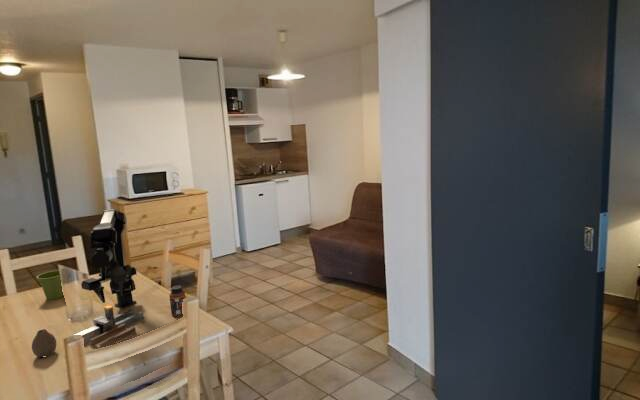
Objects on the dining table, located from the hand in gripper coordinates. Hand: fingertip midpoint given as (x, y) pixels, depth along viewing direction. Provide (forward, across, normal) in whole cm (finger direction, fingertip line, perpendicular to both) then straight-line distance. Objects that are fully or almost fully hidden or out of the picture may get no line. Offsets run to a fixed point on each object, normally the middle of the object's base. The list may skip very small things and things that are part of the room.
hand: (113, 299), depth 156 cm
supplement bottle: (+11, +18, -14) cm, 25 cm away
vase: (+11, -24, +3) cm, 27 cm away
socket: (+11, +1, 0) cm, 11 cm away
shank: (+11, -12, 0) cm, 16 cm away
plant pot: (+11, +5, +56) cm, 57 cm away
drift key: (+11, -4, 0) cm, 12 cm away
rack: (+11, -7, -9) cm, 16 cm away
